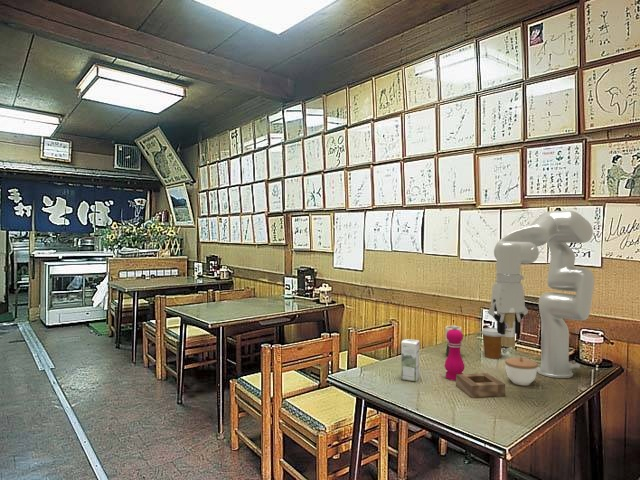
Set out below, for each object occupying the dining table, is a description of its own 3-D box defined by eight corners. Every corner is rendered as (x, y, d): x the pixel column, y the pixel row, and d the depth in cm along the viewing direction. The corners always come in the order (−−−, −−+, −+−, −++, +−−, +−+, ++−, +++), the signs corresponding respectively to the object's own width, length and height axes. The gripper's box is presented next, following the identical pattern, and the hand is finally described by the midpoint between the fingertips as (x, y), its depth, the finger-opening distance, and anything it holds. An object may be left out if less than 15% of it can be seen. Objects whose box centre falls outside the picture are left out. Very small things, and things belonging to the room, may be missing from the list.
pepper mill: (465, 381, 162) (465, 327, 162) (445, 380, 164) (445, 326, 163) (463, 375, 169) (463, 323, 169) (443, 374, 171) (444, 323, 170)
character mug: (455, 360, 189) (456, 330, 189) (440, 357, 194) (440, 328, 194) (465, 355, 198) (466, 326, 197) (450, 352, 202) (450, 324, 202)
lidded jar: (523, 389, 154) (524, 363, 154) (498, 380, 164) (498, 355, 163) (543, 384, 159) (543, 359, 159) (518, 376, 168) (518, 351, 168)
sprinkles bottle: (499, 346, 147) (499, 306, 147) (503, 343, 151) (503, 304, 151) (513, 348, 145) (513, 307, 144) (517, 345, 148) (517, 305, 148)
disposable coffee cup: (479, 353, 200) (479, 327, 200) (501, 354, 199) (501, 327, 199) (483, 359, 191) (484, 331, 191) (506, 360, 189) (507, 332, 189)
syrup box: (419, 377, 167) (419, 339, 167) (416, 382, 161) (416, 343, 161) (404, 375, 169) (404, 338, 169) (400, 380, 164) (400, 341, 164)
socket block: (487, 384, 160) (487, 373, 160) (505, 396, 148) (505, 384, 148) (456, 385, 158) (456, 374, 158) (471, 397, 146) (471, 385, 146)
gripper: (524, 277, 153) (523, 330, 153) (479, 278, 150) (478, 331, 150) (538, 280, 145) (537, 335, 145) (491, 280, 142) (490, 336, 143)
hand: (507, 332), depth 148 cm, fingers closed on sprinkles bottle, 4 cm apart
